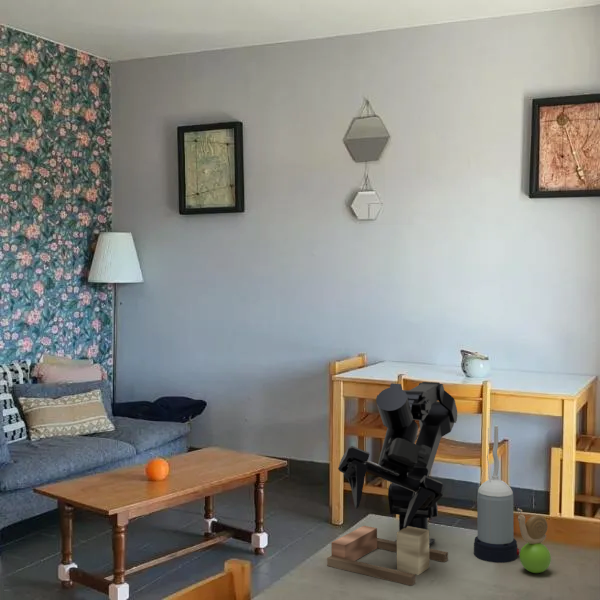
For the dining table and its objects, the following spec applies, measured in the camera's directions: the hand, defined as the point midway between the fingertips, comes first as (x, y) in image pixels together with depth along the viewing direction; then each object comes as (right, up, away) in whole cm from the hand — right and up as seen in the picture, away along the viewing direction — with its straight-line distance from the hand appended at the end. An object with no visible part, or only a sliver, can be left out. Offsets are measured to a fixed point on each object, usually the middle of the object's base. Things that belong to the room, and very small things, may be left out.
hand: (381, 517), depth 141 cm
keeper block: (+7, -12, +7) cm, 15 cm away
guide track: (+2, -11, +10) cm, 16 cm away
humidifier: (+23, -11, +14) cm, 29 cm away
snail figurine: (+28, -11, +5) cm, 31 cm away
